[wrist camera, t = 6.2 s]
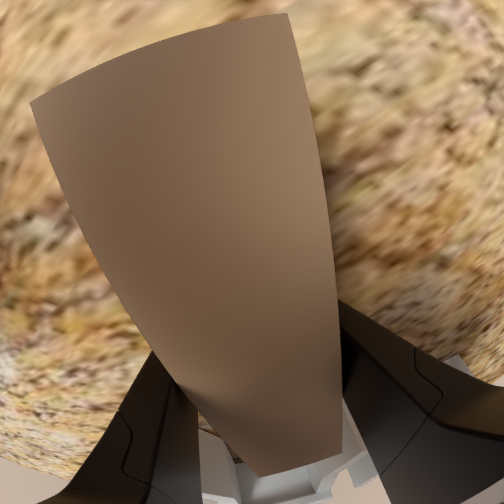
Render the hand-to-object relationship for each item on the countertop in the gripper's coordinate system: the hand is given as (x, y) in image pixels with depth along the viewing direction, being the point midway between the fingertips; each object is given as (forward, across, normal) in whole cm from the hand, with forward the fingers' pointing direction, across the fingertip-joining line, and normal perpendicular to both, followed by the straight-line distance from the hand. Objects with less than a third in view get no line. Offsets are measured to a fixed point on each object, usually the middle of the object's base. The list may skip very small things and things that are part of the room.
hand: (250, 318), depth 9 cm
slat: (+1, 0, 0) cm, 1 cm away
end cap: (+2, 0, +13) cm, 14 cm away
